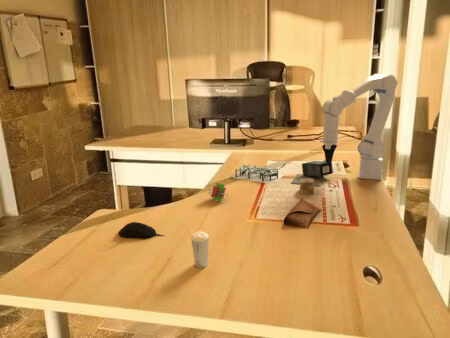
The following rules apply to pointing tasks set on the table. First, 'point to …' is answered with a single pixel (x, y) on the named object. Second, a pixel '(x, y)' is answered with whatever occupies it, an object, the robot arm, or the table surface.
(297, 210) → the sunglasses case
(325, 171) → the box
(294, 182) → the mat
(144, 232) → the gaming mouse
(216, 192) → the geometric puzzle
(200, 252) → the milkshake
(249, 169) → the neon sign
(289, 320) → the table surface
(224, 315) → the table surface
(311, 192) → the walnut block
